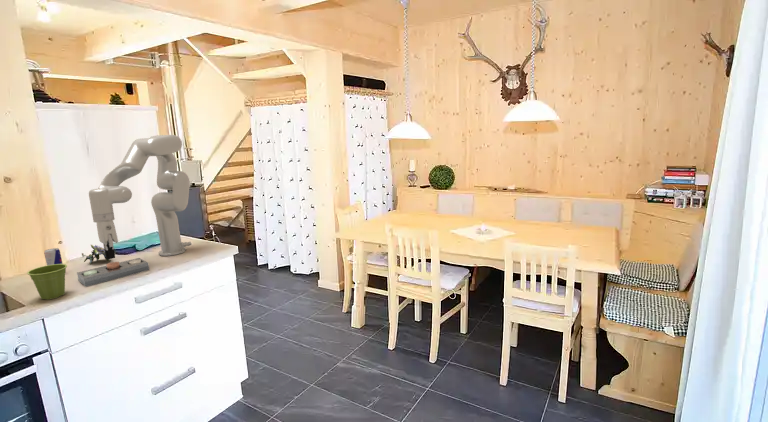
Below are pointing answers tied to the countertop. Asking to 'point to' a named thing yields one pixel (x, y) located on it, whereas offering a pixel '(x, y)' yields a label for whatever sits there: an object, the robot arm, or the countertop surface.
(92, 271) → the sage button
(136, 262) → the ivory button
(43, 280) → the plant pot
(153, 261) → the countertop surface
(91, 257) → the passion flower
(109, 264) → the terracotta button
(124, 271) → the console
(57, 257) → the energy drink
